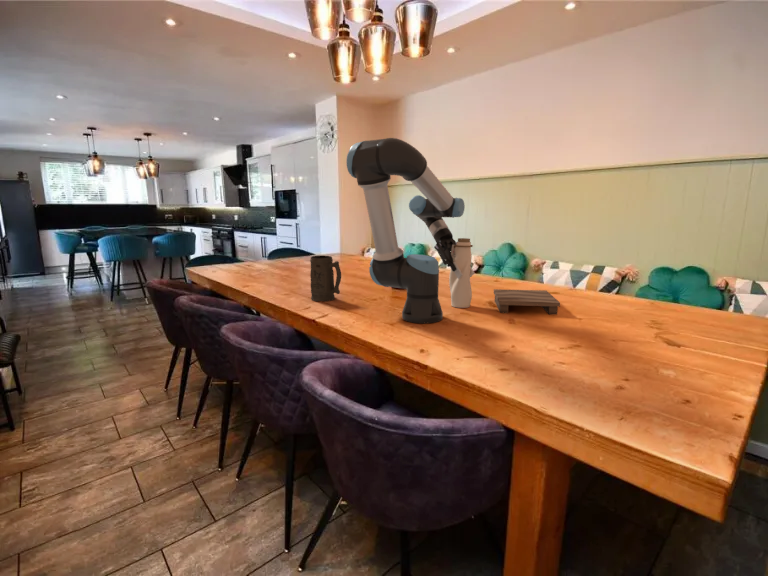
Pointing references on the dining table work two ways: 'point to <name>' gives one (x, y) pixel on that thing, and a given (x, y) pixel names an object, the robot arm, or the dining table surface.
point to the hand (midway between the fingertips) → (466, 275)
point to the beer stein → (324, 278)
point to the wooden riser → (526, 299)
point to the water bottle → (462, 286)
